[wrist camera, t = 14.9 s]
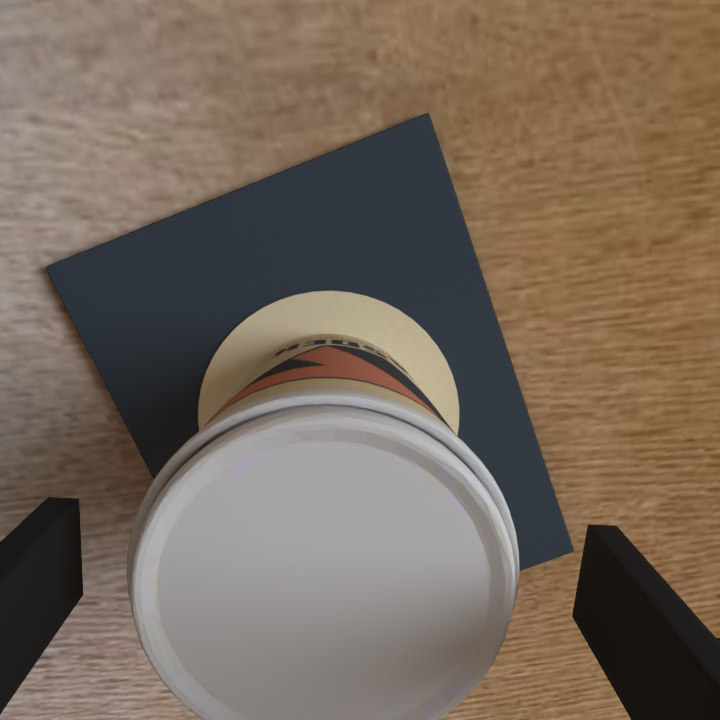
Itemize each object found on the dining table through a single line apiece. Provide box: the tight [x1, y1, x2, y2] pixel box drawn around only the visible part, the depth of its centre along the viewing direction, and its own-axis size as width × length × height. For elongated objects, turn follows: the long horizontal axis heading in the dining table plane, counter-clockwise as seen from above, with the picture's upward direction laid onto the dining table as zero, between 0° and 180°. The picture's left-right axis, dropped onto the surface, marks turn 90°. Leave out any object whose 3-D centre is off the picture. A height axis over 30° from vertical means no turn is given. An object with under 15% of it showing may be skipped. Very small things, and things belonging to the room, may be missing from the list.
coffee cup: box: [127, 334, 519, 720], centre depth 19 cm, size 9×9×12 cm
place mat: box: [46, 113, 574, 571], centre depth 25 cm, size 20×16×1 cm
